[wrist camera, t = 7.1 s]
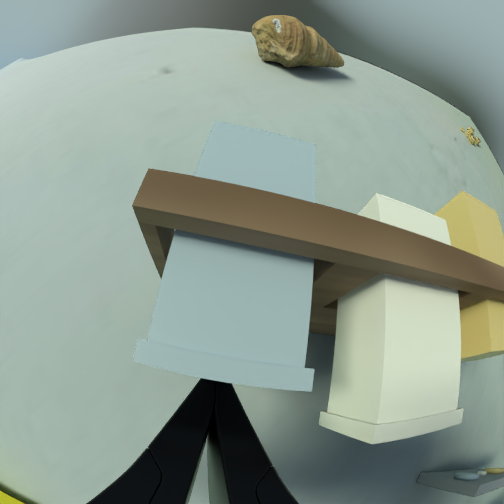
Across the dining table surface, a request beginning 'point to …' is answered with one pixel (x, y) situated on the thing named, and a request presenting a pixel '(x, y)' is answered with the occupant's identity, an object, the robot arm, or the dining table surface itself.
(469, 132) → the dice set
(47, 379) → the dining table surface
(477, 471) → the card
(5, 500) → the yellow curved piece
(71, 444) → the dining table surface
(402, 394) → the middle button
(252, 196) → the button board
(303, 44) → the seashell
